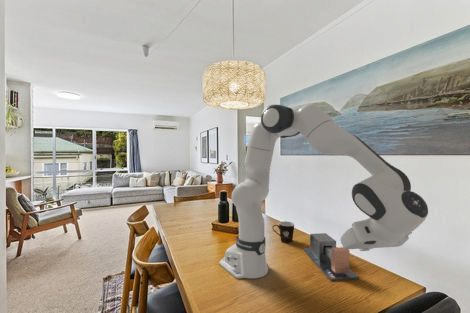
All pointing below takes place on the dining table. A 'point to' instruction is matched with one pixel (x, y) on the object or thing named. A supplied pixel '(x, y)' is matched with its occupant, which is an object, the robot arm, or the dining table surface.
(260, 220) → the robot arm
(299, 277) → the dining table surface
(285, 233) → the coffee mug
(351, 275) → the housing
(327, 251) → the shaft
